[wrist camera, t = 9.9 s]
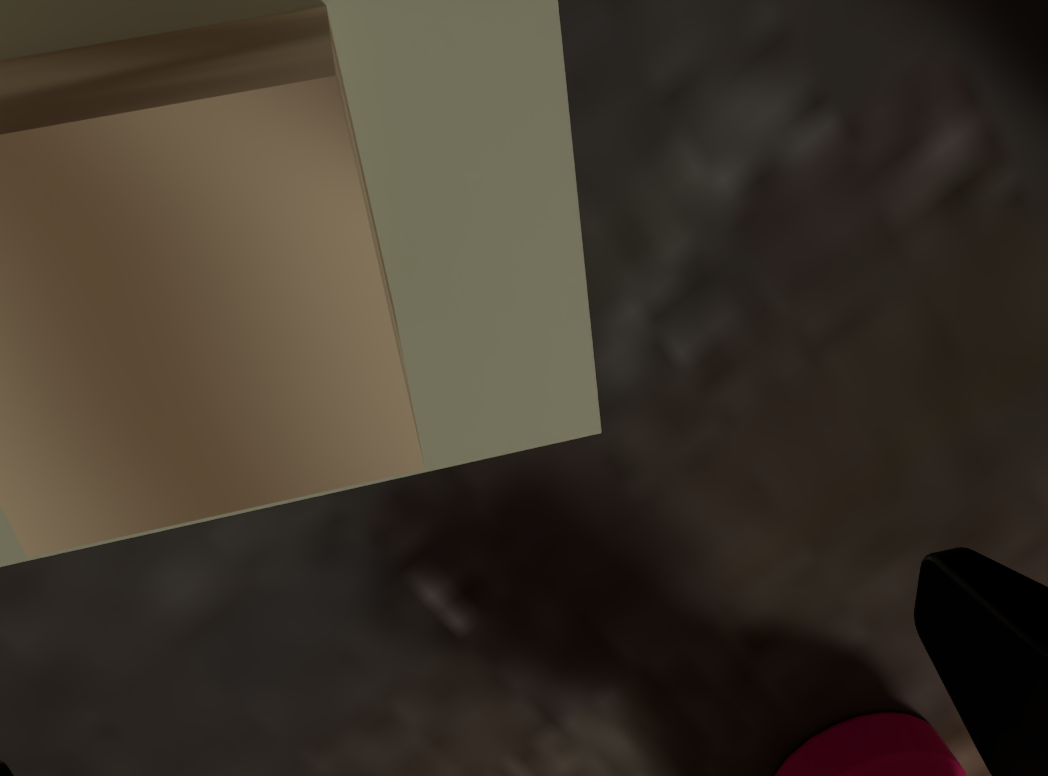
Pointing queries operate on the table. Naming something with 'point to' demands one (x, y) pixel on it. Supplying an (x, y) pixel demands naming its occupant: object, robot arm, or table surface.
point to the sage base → (432, 203)
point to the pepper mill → (874, 749)
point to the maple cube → (189, 284)
